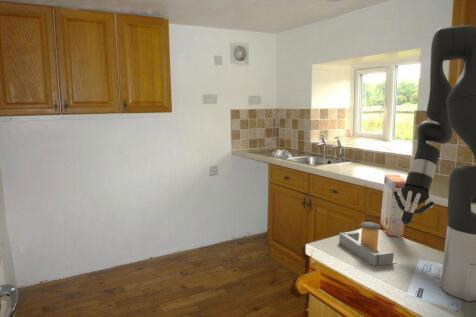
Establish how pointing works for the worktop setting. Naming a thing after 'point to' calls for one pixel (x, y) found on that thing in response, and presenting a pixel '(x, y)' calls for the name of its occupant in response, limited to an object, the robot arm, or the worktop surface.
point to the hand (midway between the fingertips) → (405, 223)
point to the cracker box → (392, 206)
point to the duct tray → (365, 250)
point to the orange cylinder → (370, 235)
